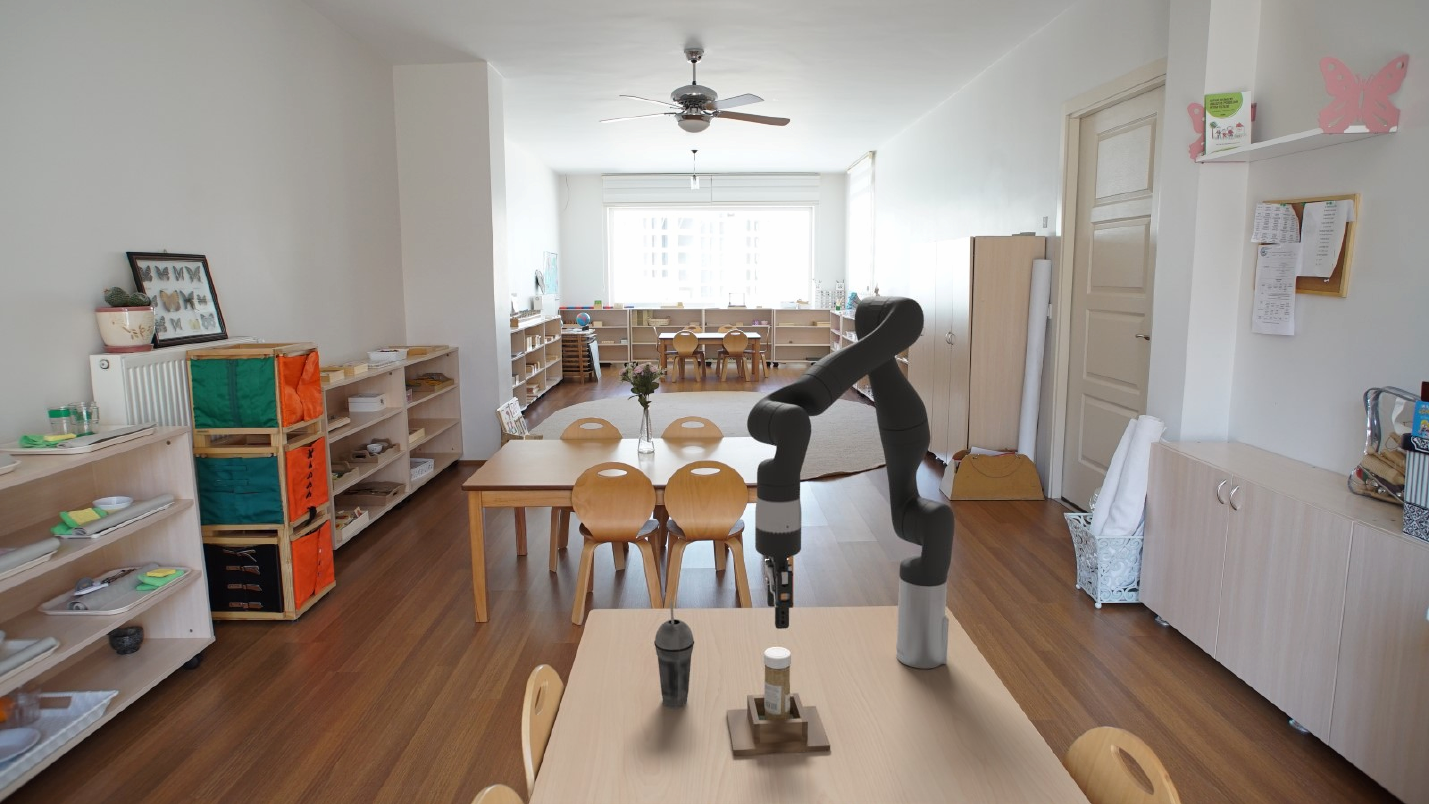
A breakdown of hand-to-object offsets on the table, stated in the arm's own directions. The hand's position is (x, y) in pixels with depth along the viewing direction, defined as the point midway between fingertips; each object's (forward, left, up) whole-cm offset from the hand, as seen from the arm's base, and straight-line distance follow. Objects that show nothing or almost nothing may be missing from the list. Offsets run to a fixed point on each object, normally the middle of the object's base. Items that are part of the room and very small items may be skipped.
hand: (777, 616), depth 134 cm
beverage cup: (+17, -11, -21) cm, 30 cm away
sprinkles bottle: (0, 0, -20) cm, 20 cm away
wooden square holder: (0, 0, -21) cm, 21 cm away
